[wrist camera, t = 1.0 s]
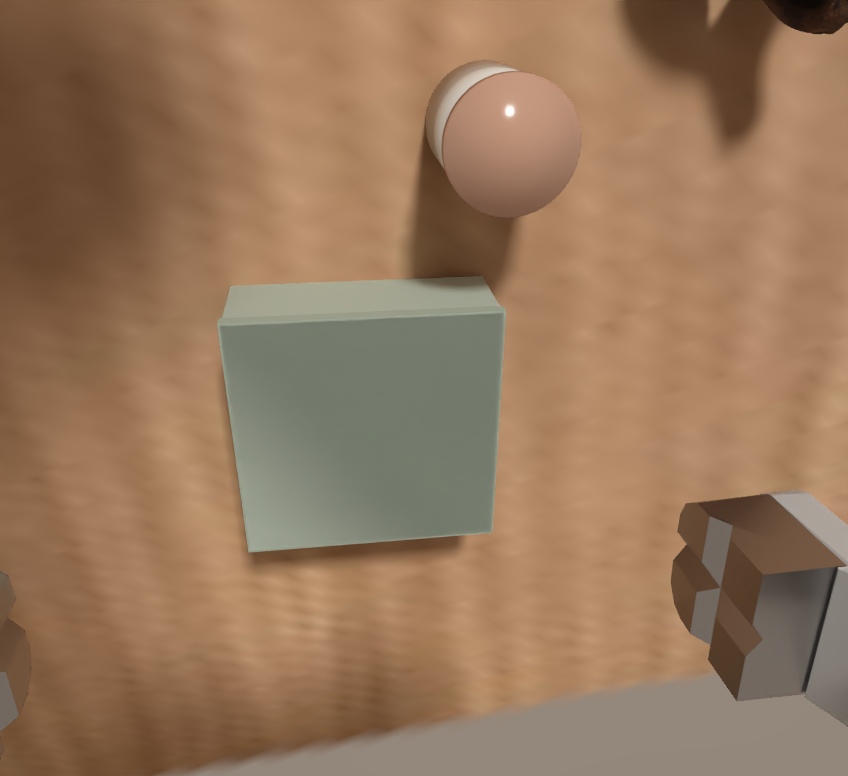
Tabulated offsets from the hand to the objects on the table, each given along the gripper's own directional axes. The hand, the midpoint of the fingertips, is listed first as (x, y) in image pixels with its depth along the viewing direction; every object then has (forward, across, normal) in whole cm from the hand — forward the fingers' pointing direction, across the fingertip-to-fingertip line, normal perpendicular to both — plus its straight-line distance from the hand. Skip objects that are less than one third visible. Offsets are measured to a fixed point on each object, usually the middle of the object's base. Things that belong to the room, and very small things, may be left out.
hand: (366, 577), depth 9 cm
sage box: (+28, -2, +10) cm, 30 cm away
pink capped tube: (+26, -7, -3) cm, 28 cm away
